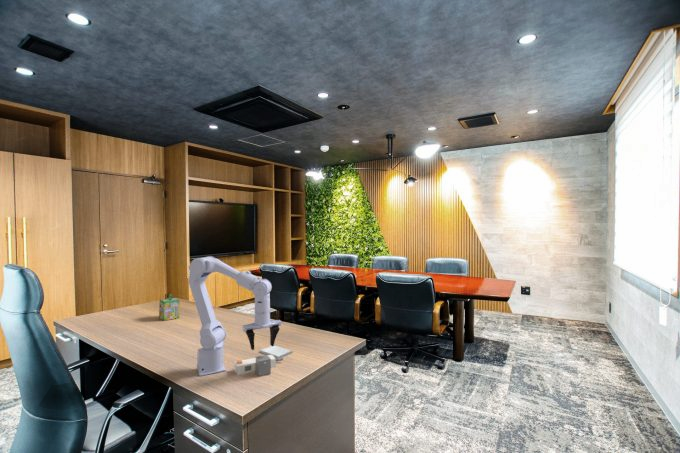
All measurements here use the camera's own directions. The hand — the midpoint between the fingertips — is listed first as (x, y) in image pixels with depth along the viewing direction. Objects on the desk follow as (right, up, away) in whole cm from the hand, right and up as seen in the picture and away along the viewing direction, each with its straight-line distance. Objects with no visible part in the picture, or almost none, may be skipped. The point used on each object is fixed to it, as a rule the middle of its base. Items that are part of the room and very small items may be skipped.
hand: (262, 347), depth 126 cm
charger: (0, -10, -1) cm, 10 cm away
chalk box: (-75, -10, +75) cm, 107 cm away
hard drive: (+1, -11, +20) cm, 23 cm away
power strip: (-2, -10, +4) cm, 11 cm away
